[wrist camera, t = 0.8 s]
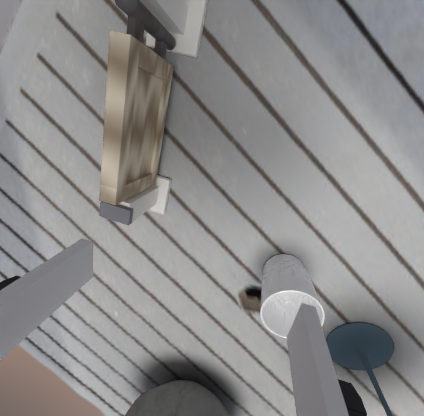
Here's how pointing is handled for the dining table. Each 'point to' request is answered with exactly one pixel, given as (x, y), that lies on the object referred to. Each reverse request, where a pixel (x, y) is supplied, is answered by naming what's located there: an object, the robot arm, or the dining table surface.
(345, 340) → the cocktail glass
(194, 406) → the ceramic pot
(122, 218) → the latch post
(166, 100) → the gate
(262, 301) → the white cup
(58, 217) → the dining table surface
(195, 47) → the hinge post
